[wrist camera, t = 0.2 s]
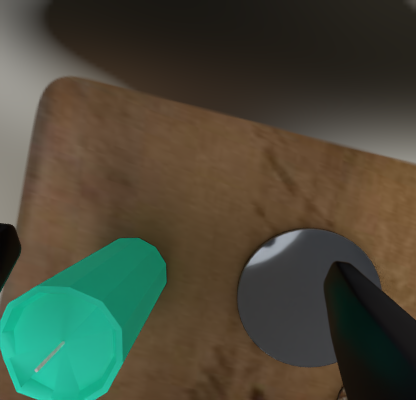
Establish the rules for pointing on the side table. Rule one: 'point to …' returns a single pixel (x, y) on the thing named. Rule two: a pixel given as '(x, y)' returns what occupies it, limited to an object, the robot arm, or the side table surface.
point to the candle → (81, 322)
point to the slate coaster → (295, 294)
